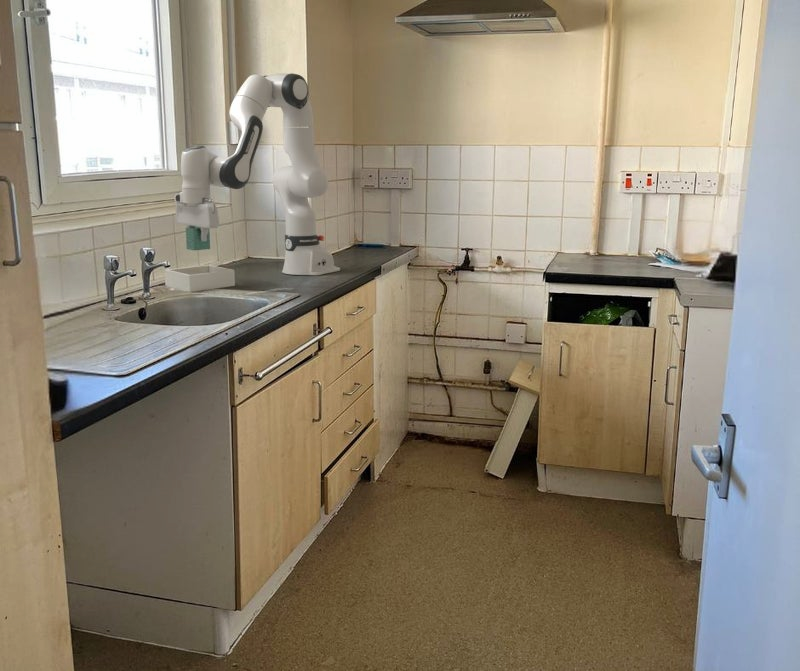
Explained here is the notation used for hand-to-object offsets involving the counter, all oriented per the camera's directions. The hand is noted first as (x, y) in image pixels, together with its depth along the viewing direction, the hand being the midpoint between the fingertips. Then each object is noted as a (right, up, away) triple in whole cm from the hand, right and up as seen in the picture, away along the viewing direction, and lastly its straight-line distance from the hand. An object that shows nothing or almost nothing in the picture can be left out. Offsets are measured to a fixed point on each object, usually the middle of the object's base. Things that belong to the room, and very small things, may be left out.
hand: (198, 240), depth 260 cm
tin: (0, -3, +1) cm, 3 cm away
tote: (0, -15, +4) cm, 16 cm away
